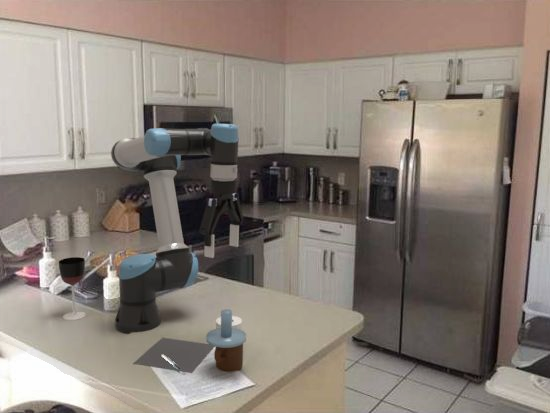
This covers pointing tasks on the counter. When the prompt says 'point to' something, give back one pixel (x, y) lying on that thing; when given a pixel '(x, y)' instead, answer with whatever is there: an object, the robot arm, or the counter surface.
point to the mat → (175, 354)
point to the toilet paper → (235, 322)
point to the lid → (226, 333)
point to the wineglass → (72, 280)
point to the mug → (229, 358)
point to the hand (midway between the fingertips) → (222, 251)
